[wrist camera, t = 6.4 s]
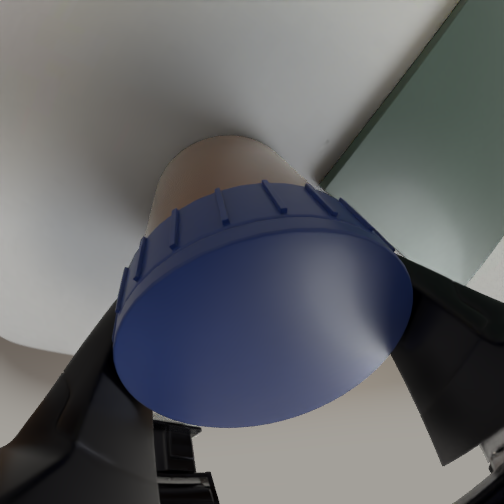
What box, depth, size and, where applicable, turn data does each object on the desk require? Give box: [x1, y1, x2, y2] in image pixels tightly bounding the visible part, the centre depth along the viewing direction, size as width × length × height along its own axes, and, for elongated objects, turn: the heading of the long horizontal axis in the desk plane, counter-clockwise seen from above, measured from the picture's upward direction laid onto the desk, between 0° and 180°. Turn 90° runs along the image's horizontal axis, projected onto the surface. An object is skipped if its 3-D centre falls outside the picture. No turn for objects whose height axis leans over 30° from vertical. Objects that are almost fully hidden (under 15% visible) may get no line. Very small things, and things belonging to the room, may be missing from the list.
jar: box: [145, 135, 309, 238], centre depth 9 cm, size 6×6×8 cm
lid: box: [112, 180, 413, 428], centre depth 7 cm, size 7×7×2 cm
